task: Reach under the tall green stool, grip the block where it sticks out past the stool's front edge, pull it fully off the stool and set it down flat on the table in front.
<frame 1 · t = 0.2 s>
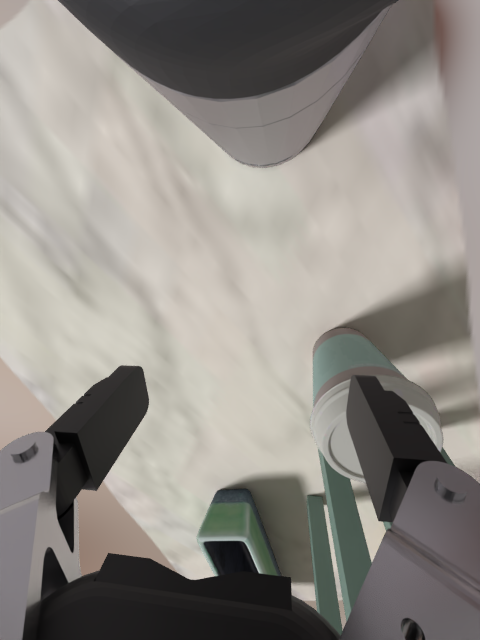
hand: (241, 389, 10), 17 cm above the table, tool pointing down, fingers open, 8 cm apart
tall green stool: (358, 467, 35), on the table
planter: (252, 537, 45), on the table
coffee cup: (340, 351, 29), on the table
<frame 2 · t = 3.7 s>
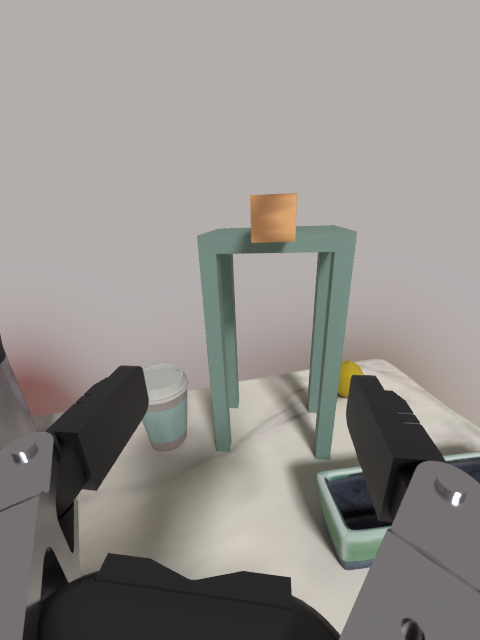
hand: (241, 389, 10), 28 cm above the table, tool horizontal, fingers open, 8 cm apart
tall green stool: (272, 425, 47), on the table
planter: (436, 529, 31), on the table
coffee cup: (169, 437, 45), on the table
block: (274, 232, 31), point 32 cm above the table, touching tall green stool
lemon: (344, 397, 53), on the table
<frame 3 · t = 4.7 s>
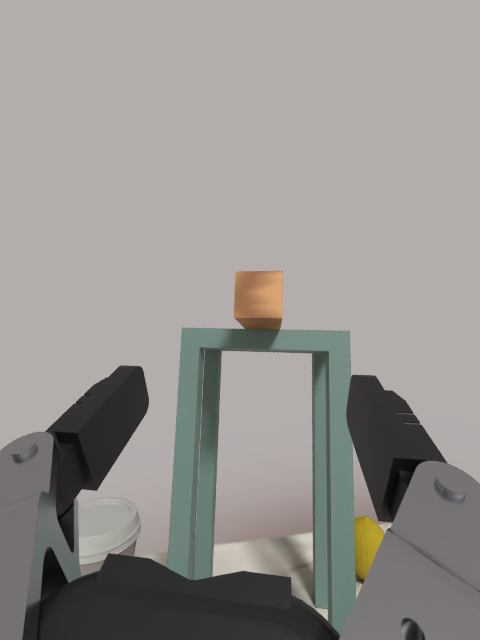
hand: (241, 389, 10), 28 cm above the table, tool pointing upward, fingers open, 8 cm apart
tall green stool: (258, 631, 29), on the table
block: (263, 331, 30), point 32 cm above the table, touching tall green stool
lemon: (367, 583, 36), on the table
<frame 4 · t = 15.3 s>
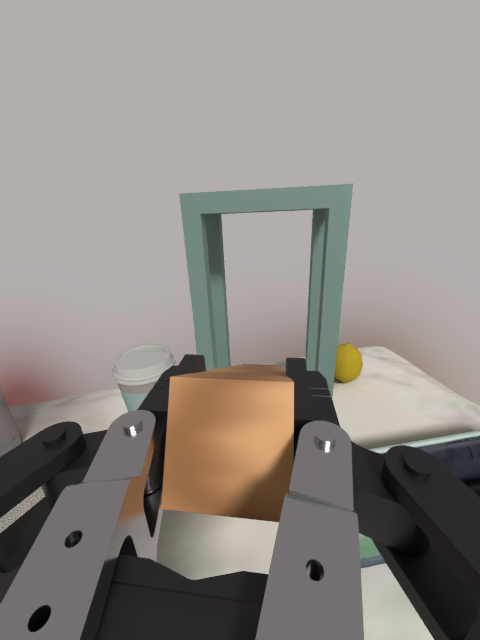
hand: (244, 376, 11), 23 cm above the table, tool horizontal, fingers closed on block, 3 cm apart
tall green stool: (266, 411, 44), on the table
planter: (448, 517, 28), on the table
coffee cup: (156, 425, 42), on the table
block: (253, 424, 17), point 17 cm above the table, tilted 29°, touching gripper
lemon: (343, 383, 50), on the table
when the fingers open (13 cm above the table, at t = 18.5 s): block drops 7 cm, on the table.
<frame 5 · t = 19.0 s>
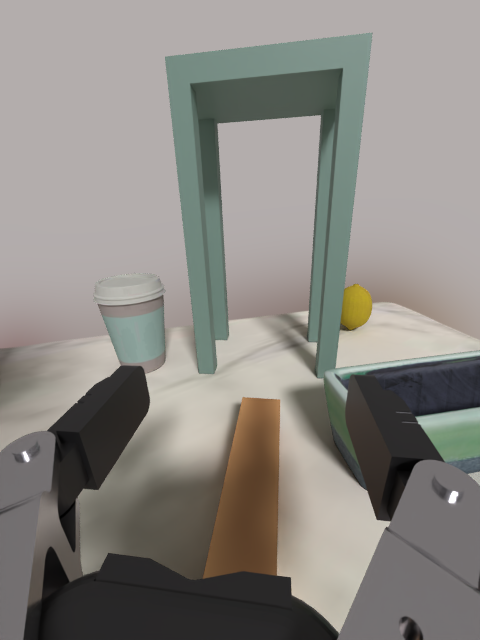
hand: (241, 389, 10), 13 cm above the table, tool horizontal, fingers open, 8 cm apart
tall green stool: (266, 352, 40), on the table
planter: (477, 443, 24), on the table
coffee cup: (144, 364, 38), on the table
block: (249, 542, 17), on the table
lemon: (350, 330, 46), on the table
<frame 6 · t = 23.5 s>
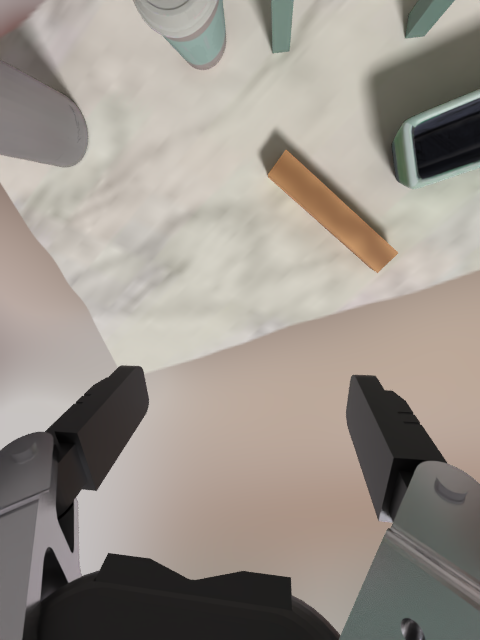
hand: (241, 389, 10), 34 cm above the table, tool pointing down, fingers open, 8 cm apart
coffee cup: (203, 40, 33), on the table
block: (329, 214, 39), on the table
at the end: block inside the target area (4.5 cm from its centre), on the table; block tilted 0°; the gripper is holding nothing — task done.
